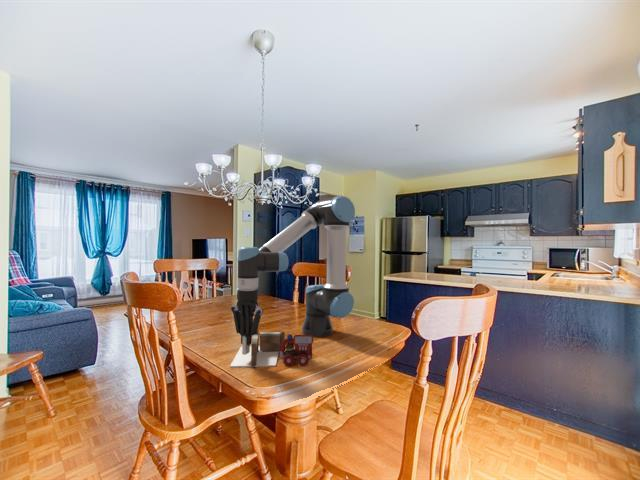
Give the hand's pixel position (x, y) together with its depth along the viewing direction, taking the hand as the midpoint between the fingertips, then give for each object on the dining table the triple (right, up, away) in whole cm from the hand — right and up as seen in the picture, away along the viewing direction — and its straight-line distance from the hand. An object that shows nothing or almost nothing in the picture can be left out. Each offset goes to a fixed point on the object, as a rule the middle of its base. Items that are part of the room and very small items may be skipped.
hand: (245, 353), depth 105 cm
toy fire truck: (+19, -4, 0) cm, 19 cm away
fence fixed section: (+7, -3, +9) cm, 12 cm away
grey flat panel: (+3, -2, +1) cm, 4 cm away
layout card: (+3, -3, +5) cm, 7 cm away
